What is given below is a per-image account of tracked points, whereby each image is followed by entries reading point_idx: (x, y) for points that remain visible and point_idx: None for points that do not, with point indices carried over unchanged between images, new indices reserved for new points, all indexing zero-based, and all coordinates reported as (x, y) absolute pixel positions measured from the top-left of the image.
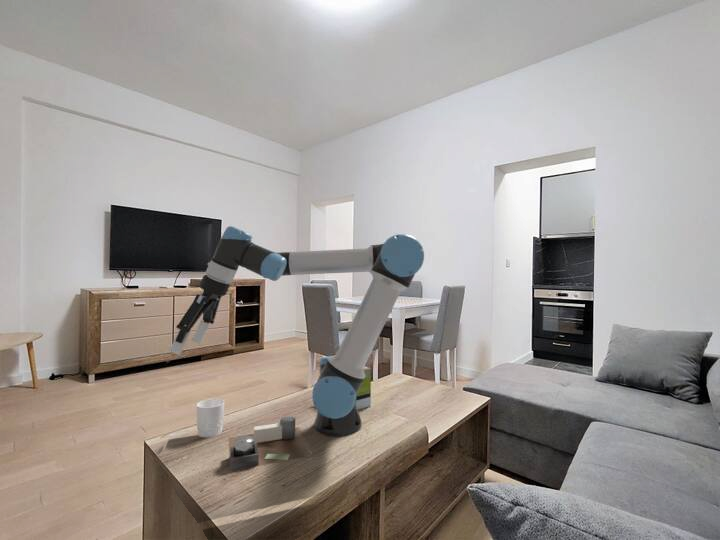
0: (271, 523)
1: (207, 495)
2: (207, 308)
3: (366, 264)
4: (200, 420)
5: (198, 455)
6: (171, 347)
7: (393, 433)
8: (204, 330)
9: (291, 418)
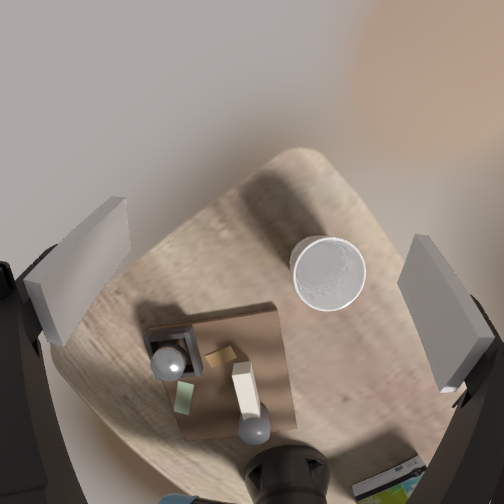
0: (63, 377)
1: (106, 302)
2: None
3: None
4: (296, 251)
5: (228, 258)
6: (100, 209)
7: None
8: (428, 339)
9: (258, 439)
